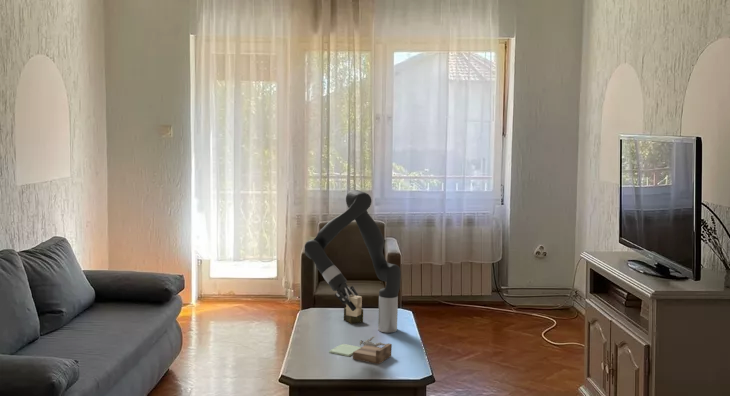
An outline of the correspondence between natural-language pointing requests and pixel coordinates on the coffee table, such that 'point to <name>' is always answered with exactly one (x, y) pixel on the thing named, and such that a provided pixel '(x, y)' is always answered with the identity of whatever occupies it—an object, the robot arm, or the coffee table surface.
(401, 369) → the coffee table surface
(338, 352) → the pad
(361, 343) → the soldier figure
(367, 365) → the coffee table surface
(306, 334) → the coffee table surface
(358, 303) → the birch block
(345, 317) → the olive green cube
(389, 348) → the walnut ledge
